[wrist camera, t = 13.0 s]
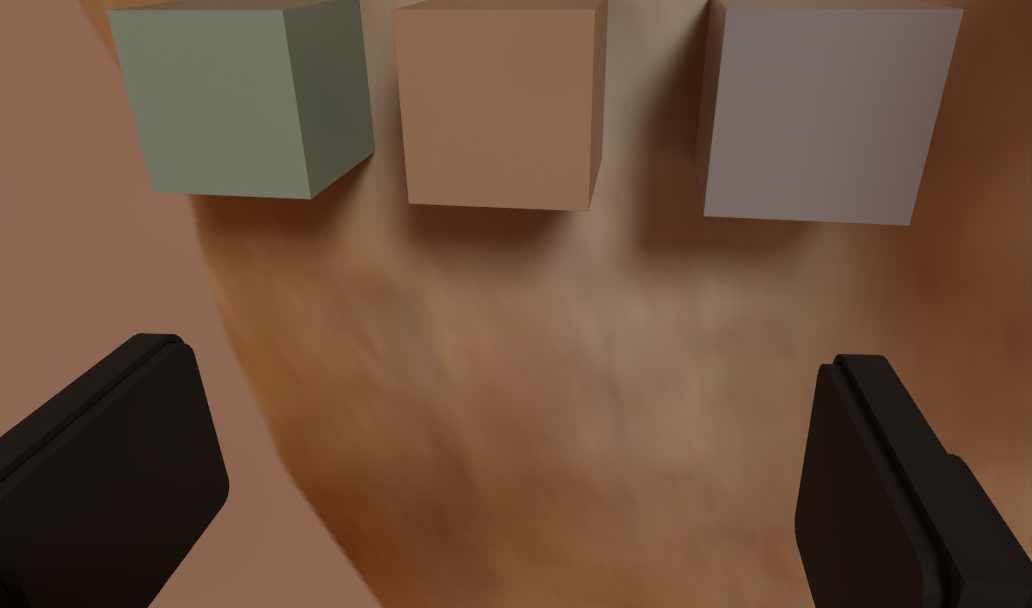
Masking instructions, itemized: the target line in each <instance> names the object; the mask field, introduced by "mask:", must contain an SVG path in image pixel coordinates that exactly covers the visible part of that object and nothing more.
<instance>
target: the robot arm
mask: <svg viewBox="0 0 1032 608" xmlns="http://www.w3.org/2000/svg"><path fill="white" fill-rule="evenodd" d="M228 493H229V479H228V475H227V472H226V468H225V464H224V461H223V457H222V453H221V450H220V446H219V442H218V439H217V435H216V431H215V428H214V424H213V420H212V417H211V413H210V409H209V406H208V402H207V398H206V395H205V391H204V388H203V384H202V380H201V376H200V373H199V369H198V365H197V362H196V358H195V354H194V352H193V349H192V348H191V347H190V346H189V345H187V344H184V341H183V340H182V339H181V338H180V337H179V336H177V335H175V334H145V333H140V334H136V335H134V336H133V337H131V338H130V339H129V340H127V341H126V342H125V343H123V344H122V345H121V346H120V347H118V348H117V349H115V350H114V351H113V352H112V353H110V354H109V355H108V356H106V357H105V358H104V359H102V360H101V361H100V362H98V363H97V364H96V365H95V366H93V367H92V368H90V369H89V370H88V371H87V372H85V373H84V374H83V375H81V376H80V377H79V378H77V379H76V380H75V381H74V382H72V383H71V384H69V385H68V386H67V387H66V388H64V389H63V390H62V391H60V392H59V393H58V394H56V395H55V396H54V397H52V398H51V399H50V400H48V401H47V402H46V403H44V404H43V405H42V406H41V407H39V408H38V409H37V410H35V411H34V412H33V413H31V414H30V415H29V416H27V417H26V418H25V419H23V421H21V422H20V423H18V424H17V425H16V426H14V427H13V428H12V429H10V430H9V431H8V432H6V433H5V434H4V435H2V436H1V437H0V608H148V606H149V605H150V604H151V602H152V601H153V600H154V598H155V597H156V596H157V594H158V593H159V592H160V590H161V589H162V588H163V586H164V585H165V583H166V582H167V581H168V579H169V578H170V577H171V575H172V574H173V573H174V571H175V570H176V569H177V567H178V566H179V565H180V563H181V562H182V561H183V559H184V558H185V557H186V555H187V554H188V552H189V551H190V550H191V548H192V547H193V545H194V544H195V543H196V542H197V540H198V539H199V538H200V536H201V535H202V534H203V532H204V531H205V529H206V528H207V527H208V525H209V524H210V523H211V521H212V520H213V519H214V517H215V516H216V515H217V513H218V512H219V511H220V509H221V508H222V507H223V505H224V503H225V502H226V499H227V497H228ZM795 535H796V541H797V545H798V549H799V552H800V555H801V559H802V562H803V566H804V569H805V573H806V576H807V580H808V583H809V587H810V590H811V594H812V597H813V601H814V604H815V608H1032V561H1031V560H1030V558H1029V557H1028V555H1027V554H1026V553H1025V551H1024V550H1023V548H1022V547H1021V545H1020V544H1019V542H1018V541H1017V539H1016V538H1015V536H1014V535H1013V533H1012V532H1011V530H1010V529H1009V527H1008V526H1007V524H1006V523H1005V521H1004V520H1003V518H1002V517H1001V515H1000V514H999V512H998V511H997V509H996V508H995V506H994V505H993V503H992V502H991V500H990V499H989V497H988V496H987V494H986V493H985V491H984V490H983V488H982V487H981V485H980V484H979V482H978V481H977V479H976V478H975V476H974V475H973V473H972V472H971V470H970V469H969V467H968V466H967V464H966V463H965V462H964V461H963V460H962V459H961V458H960V457H959V456H956V455H953V454H947V452H946V450H945V449H944V447H943V446H942V444H941V443H940V441H939V440H938V438H937V437H936V435H935V433H934V432H933V430H932V429H931V427H930V426H929V424H928V423H927V421H926V419H925V418H924V416H923V415H922V413H921V412H920V410H919V409H918V407H917V405H916V404H915V402H914V401H913V399H912V398H911V396H910V395H909V393H908V392H907V390H906V388H905V387H904V385H903V384H902V382H901V381H900V379H899V378H898V376H897V374H896V373H895V371H894V370H893V368H892V367H891V365H890V364H889V362H888V360H887V359H886V358H885V357H884V356H882V355H856V354H838V355H837V356H836V357H835V359H834V361H833V364H822V365H821V366H820V368H819V371H818V376H817V382H816V388H815V394H814V401H813V407H812V413H811V419H810V426H809V432H808V438H807V444H806V451H805V457H804V463H803V469H802V476H801V482H800V488H799V495H798V501H797V507H796V513H795Z"/></svg>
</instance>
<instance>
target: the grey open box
mask: <svg viewBox="0 0 1032 608" xmlns="http://www.w3.org/2000/svg"><path fill="white" fill-rule="evenodd" d="M963 12H964V9H961V8H956V7H952V6H947V5H943V4H939V3H934V2H930V1H925V0H711V1H710V11H709V21H708V31H707V40H706V50H705V60H704V70H703V79H702V89H701V99H700V109H699V119H698V128H697V138H696V148H695V158H694V163H695V169H696V175H697V181H698V187H699V192H700V198H701V204H702V210H703V216H711V217H733V218H755V219H776V220H798V221H819V222H841V223H863V224H884V225H906V226H910V222H911V218H912V214H913V210H914V206H915V202H916V198H917V194H918V190H919V186H920V182H921V178H922V174H923V170H924V166H925V162H926V158H927V154H928V151H929V147H930V143H931V139H932V135H933V131H934V127H935V123H936V119H937V115H938V111H939V107H940V103H941V99H942V95H943V91H944V87H945V83H946V79H947V75H948V71H949V67H950V63H951V59H952V55H953V51H954V47H955V43H956V39H957V35H958V31H959V28H960V24H961V20H962V16H963Z"/></svg>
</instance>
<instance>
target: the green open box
mask: <svg viewBox="0 0 1032 608" xmlns="http://www.w3.org/2000/svg"><path fill="white" fill-rule="evenodd" d="M106 11H107V15H108V19H109V23H110V27H111V31H112V35H113V39H114V43H115V47H116V51H117V54H118V58H119V62H120V66H121V70H122V74H123V78H124V82H125V86H126V89H127V94H128V97H129V101H130V105H131V109H132V113H133V117H134V121H135V125H136V129H137V133H138V136H139V140H140V144H141V148H142V152H143V156H144V160H145V164H146V168H147V172H148V176H149V179H150V183H151V187H152V191H153V192H157V193H179V194H202V195H225V196H247V197H270V198H293V199H312V198H314V197H315V196H316V195H317V194H319V193H320V192H321V191H323V190H324V189H325V188H327V187H328V186H329V185H331V184H332V183H333V182H335V181H336V180H337V179H339V178H340V177H341V176H343V175H344V174H345V173H347V172H348V171H349V170H351V169H352V168H353V167H355V166H356V165H357V164H359V163H360V162H361V161H363V160H364V159H365V158H367V157H368V156H369V155H371V154H372V153H373V152H375V146H374V137H373V127H372V118H371V108H370V99H369V90H368V80H367V71H366V61H365V52H364V42H363V33H362V24H361V14H360V5H359V0H184V1H176V2H168V3H160V4H153V5H145V6H137V7H129V8H122V9H114V10H106Z"/></svg>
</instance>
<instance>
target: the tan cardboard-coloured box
mask: <svg viewBox="0 0 1032 608" xmlns="http://www.w3.org/2000/svg"><path fill="white" fill-rule="evenodd" d="M607 12H608V0H427V1H424V2H420V3H416V4H412V5H409V6H405V7H401V8H397V9H394V10H392V18H393V29H394V41H395V52H396V64H397V75H398V87H399V98H400V109H401V121H402V132H403V144H404V155H405V167H406V178H407V190H408V201H409V204H431V205H454V206H477V207H500V208H523V209H545V210H568V211H589V207H590V203H591V199H592V195H593V191H594V187H595V183H596V179H597V175H598V171H599V167H600V163H601V159H602V139H603V114H604V88H605V63H606V38H607Z"/></svg>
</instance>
